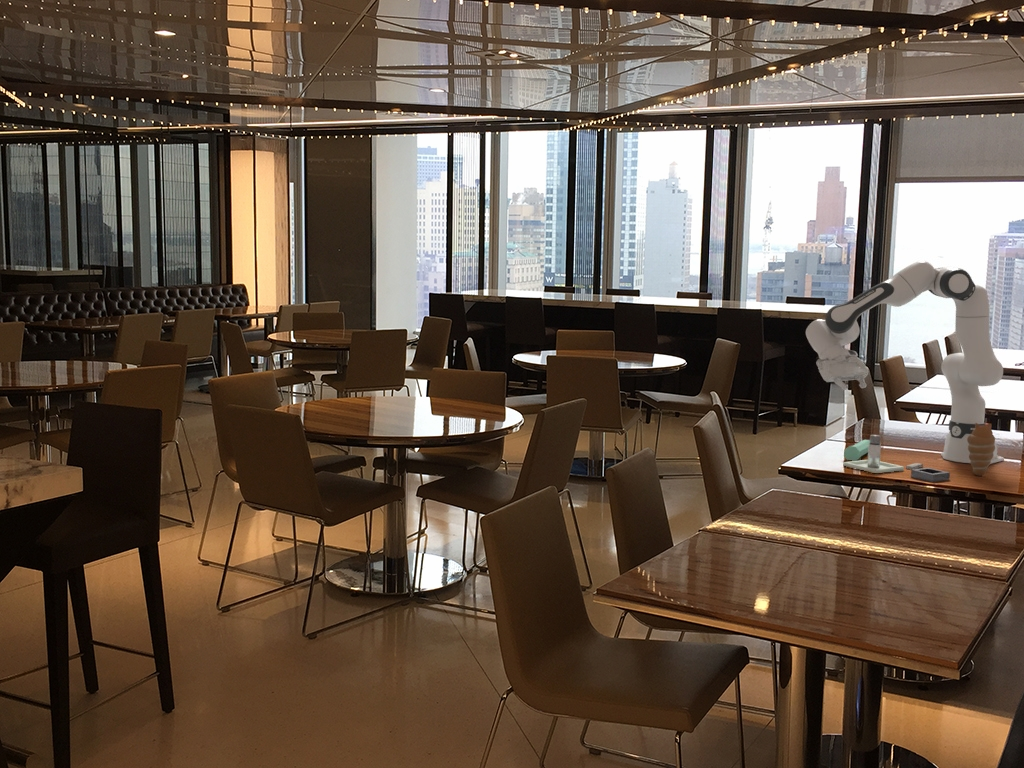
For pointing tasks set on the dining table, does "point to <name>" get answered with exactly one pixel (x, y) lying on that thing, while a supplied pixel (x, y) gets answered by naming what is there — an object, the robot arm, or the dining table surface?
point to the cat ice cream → (981, 448)
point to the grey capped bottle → (874, 452)
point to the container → (856, 450)
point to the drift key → (914, 466)
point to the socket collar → (930, 474)
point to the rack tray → (883, 468)
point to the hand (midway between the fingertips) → (855, 388)
